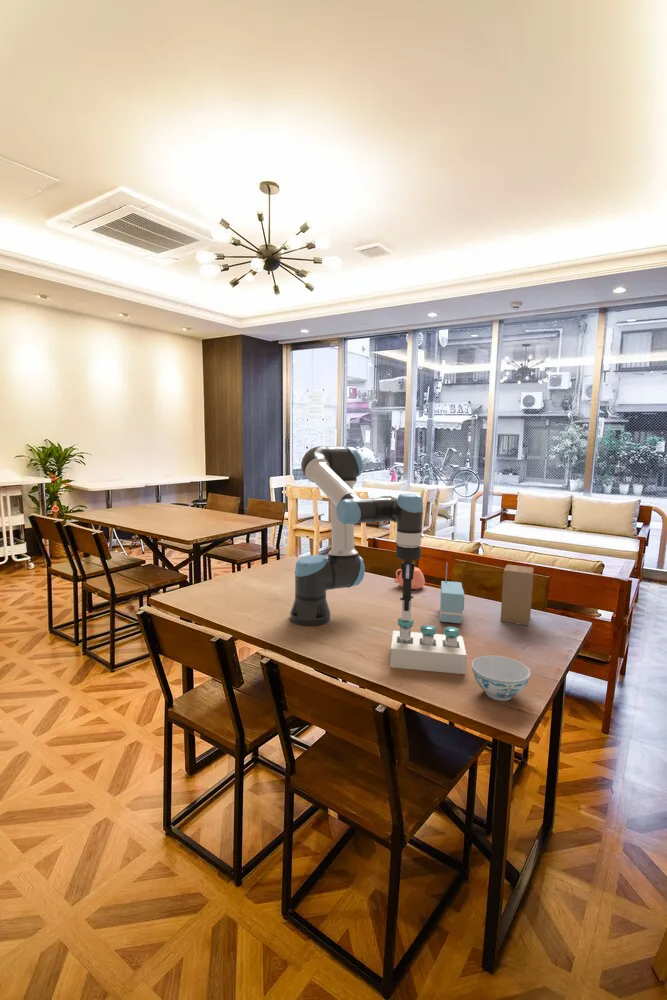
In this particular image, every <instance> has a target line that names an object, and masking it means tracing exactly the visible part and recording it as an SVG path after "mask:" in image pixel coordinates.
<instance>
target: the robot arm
mask: <svg viewBox="0 0 667 1000" xmlns="http://www.w3.org/2000/svg"><path fill="white" fill-rule="evenodd" d="M301 459H302V460H301V461H300V462H301V463H300V464H301V465H300V469H301V472H302V474H303V475H304V477H305V479H307V480H308V481H309V482H311V483H314V484H315V485H316V486H317V487H318V488H319V489H320V490H321V491H322V492H323V494H325V496H326V497H327V498H328V499H329V500H330V520H331V549H330V550H329V551H328V554H327V557H326V556H325V555H322V554H316V555H315V554H311V555H307V556H303V557H301V558H299V559H298V560H297V561H296V562H295V568H294V569H295V570H294V583H295V585H294V587H295V588H294V601H293V603H292V607H291V608H290V609H291V610H290V613H289V614H290V618H289V619H290V621H292V623H295V624H297V625H301V626H320V625H324V624H326V623H328V622H329V621H330V620H331V610H330V607H329V603H328V600H327V591H328V590H335V589H343V588H347V589H349V588H351V587H356V586H358V585H360V584H361V582H362V581H363V579H364V577H365V574H366V573H365V572H366V569H365V568H366V567H365V563H364V559H363V558H362V557H361V556H360V555H359V552H358V551H357V549H356V548H355V527H354V526H355V524H364V523H378V522H380V523H381V522H393V523H396V533H395V534H396V535H395V538H396V539H395V543H396V544H397V545H396V546H395V557H396V558H397V559H400V560H404V561H403V562H401V568H400V569H401V570H402V571H401V572H402V579H403V587H402V596H401V597H399V600H400V601H402V602H401V618H402V620H406V621H410V619H412V618H411V616H412V615H411V614H412V611H411V610H412V599H414V595H412V589H411V580H412V579H413V571H414V566H415V562H413V561H418V560H419V559H421V557H422V547H421V544H422V539H424V534H422V532H423V531H422V530H423V514H424V513H423V511H424V504H423V500H424V499H423V497H422V496H421V494H417V493H415V494H414V493H401V494H399V495H398V497H394V496H390V495H383V496H380V497H369V498H362V497H361V496H359V494H357V492H355V490H354V488H353V487H354V485H355V484H356V483H357V481H358V479H357V478H358V477H360V475H361V474H362V472H363V469H364V468H363V465H364V464H363V460H362V456H361V454H360V452H359V451H358V450H357V448H355V447H353V446H345V445H342V446H334V445H333V446H331V445H329V446H326V445H325V446H323V445H321V446H315V447H312V448H310V449H309V450H308V451H307V452H306V453H305V454H304V455H303V457H302V458H301ZM415 567H416V566H415Z"/></svg>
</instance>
